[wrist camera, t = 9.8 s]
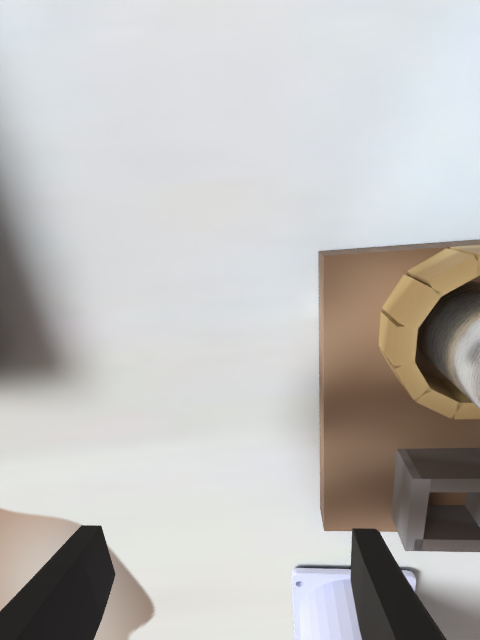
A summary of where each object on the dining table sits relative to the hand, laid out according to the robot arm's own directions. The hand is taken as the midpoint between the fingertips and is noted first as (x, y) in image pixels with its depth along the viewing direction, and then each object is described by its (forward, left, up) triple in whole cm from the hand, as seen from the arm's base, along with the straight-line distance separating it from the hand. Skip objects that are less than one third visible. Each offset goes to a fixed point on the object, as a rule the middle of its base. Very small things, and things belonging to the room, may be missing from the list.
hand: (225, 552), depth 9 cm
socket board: (-1, -10, -9) cm, 14 cm away
